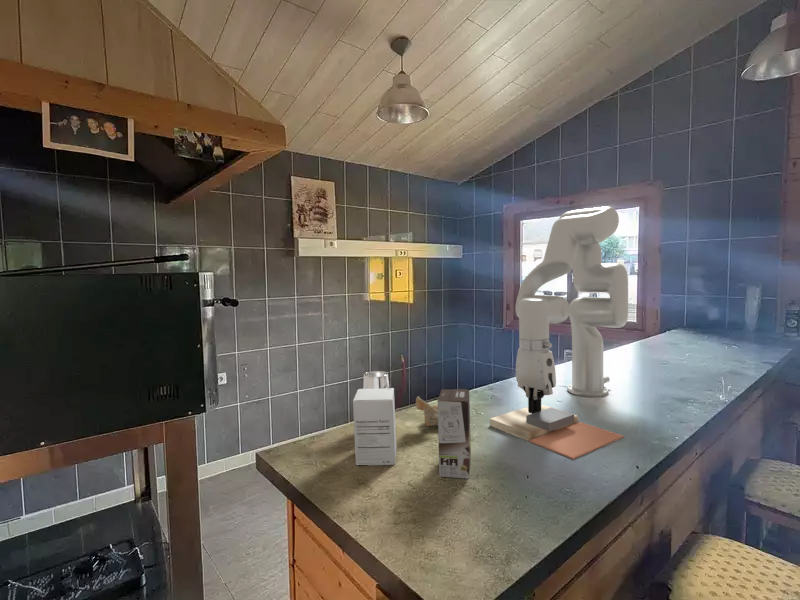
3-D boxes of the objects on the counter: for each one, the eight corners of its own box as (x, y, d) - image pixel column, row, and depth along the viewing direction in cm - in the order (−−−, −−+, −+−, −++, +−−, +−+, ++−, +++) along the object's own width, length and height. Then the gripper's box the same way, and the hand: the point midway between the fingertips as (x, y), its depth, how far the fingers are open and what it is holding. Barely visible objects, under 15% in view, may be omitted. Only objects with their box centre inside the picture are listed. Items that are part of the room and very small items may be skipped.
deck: (538, 410, 125) (538, 403, 125) (578, 422, 114) (578, 415, 114) (489, 425, 114) (489, 418, 114) (528, 441, 103) (528, 433, 103)
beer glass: (379, 421, 120) (376, 369, 119) (396, 427, 115) (394, 373, 114) (359, 429, 115) (357, 374, 114) (376, 435, 110) (374, 378, 109)
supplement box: (359, 449, 102) (357, 388, 101) (396, 448, 102) (394, 387, 101) (354, 466, 93) (351, 399, 92) (395, 465, 93) (392, 398, 92)
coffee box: (470, 479, 86) (468, 401, 85) (438, 477, 87) (436, 400, 86) (471, 459, 95) (470, 388, 93) (443, 457, 96) (441, 387, 95)
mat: (579, 423, 114) (579, 421, 114) (623, 437, 104) (623, 435, 104) (529, 441, 103) (529, 440, 103) (573, 459, 93) (573, 457, 93)
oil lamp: (406, 430, 113) (405, 393, 112) (452, 409, 129) (451, 376, 128) (432, 438, 107) (431, 399, 107) (477, 414, 123) (476, 381, 122)
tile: (551, 414, 115) (551, 407, 115) (574, 421, 109) (574, 414, 109) (526, 423, 110) (526, 415, 110) (549, 431, 104) (549, 423, 104)
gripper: (567, 346, 108) (567, 417, 109) (522, 339, 120) (522, 402, 122) (548, 350, 104) (548, 423, 105) (503, 342, 116) (504, 408, 118)
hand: (534, 412), depth 113 cm, fingers closed
